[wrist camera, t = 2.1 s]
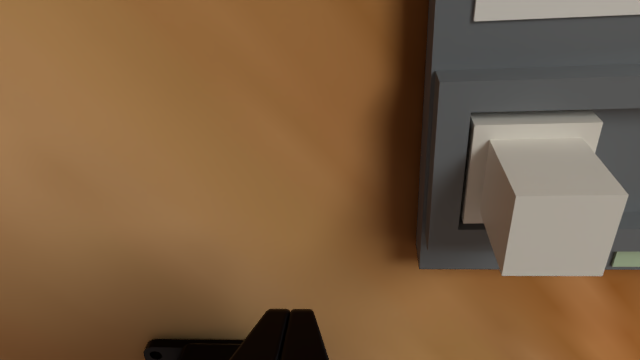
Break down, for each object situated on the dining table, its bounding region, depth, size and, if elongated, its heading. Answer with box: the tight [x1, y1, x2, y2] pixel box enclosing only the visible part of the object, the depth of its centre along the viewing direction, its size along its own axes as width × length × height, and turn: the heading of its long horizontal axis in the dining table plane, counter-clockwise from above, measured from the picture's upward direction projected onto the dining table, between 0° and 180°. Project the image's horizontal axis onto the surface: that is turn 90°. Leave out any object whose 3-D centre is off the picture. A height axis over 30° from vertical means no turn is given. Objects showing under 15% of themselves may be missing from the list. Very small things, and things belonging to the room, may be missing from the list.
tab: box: [460, 109, 629, 276], centre depth 12 cm, size 3×3×3 cm
